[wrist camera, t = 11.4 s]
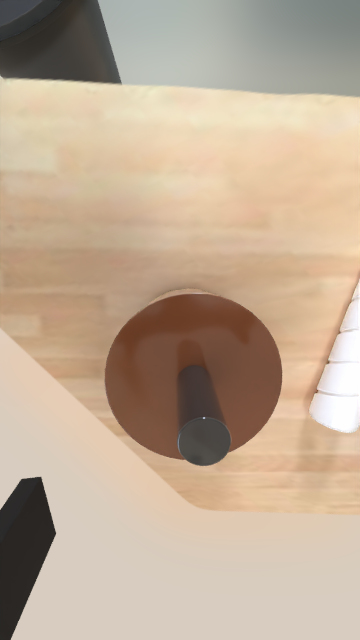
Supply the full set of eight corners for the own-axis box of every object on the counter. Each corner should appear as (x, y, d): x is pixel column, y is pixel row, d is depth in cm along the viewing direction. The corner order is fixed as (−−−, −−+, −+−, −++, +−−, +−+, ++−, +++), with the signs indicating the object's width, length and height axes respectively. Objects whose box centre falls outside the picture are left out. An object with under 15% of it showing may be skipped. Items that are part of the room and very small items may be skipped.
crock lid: (94, 302, 21) (41, 328, 13) (272, 281, 21) (337, 292, 13) (122, 459, 24) (94, 566, 16) (280, 440, 24) (339, 537, 16)
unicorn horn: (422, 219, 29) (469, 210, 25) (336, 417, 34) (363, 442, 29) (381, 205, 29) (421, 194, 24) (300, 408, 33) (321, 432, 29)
